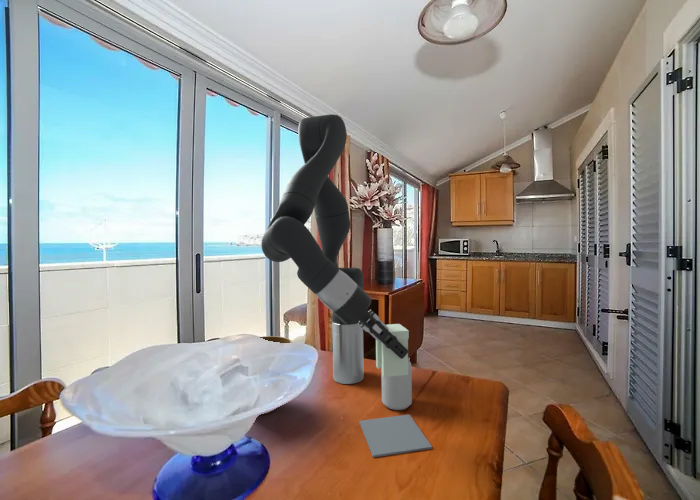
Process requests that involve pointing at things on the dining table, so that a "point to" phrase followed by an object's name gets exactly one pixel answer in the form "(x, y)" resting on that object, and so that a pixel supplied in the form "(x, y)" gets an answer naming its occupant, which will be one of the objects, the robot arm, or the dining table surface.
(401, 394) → the can
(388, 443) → the mat
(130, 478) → the dining table surface
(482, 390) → the dining table surface
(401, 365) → the pale green upright block
